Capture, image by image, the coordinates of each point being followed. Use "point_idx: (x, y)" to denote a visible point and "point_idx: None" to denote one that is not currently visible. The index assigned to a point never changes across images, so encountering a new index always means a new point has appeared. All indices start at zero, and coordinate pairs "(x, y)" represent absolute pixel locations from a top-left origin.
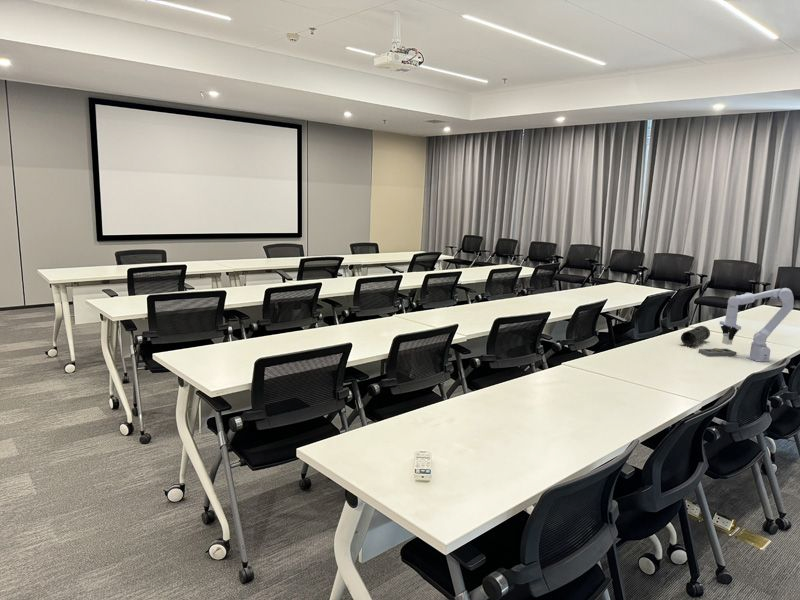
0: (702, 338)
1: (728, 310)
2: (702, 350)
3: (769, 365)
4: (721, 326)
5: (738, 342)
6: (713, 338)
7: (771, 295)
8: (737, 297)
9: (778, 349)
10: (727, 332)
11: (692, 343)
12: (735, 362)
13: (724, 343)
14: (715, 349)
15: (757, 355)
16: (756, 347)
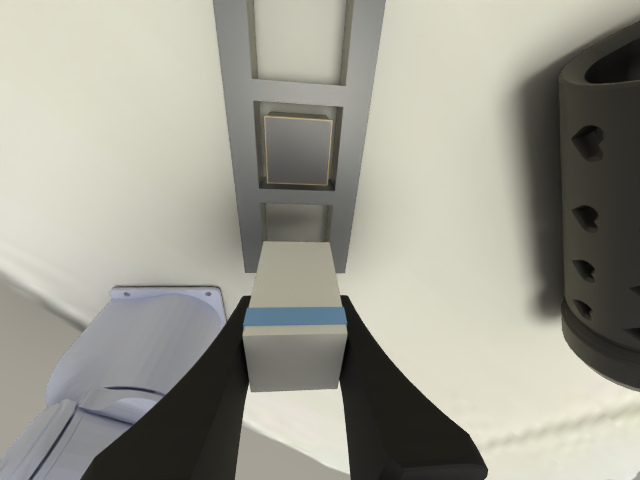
0: (573, 256)
1: None
2: None
3: (36, 293)
4: (451, 463)
5: (460, 406)
6: (554, 369)
7: None
8: None
9: (342, 447)
10: (345, 389)
11: (577, 72)
12: (15, 90)
13: (295, 243)
14: (292, 117)
15: (120, 321)
16: (102, 372)
